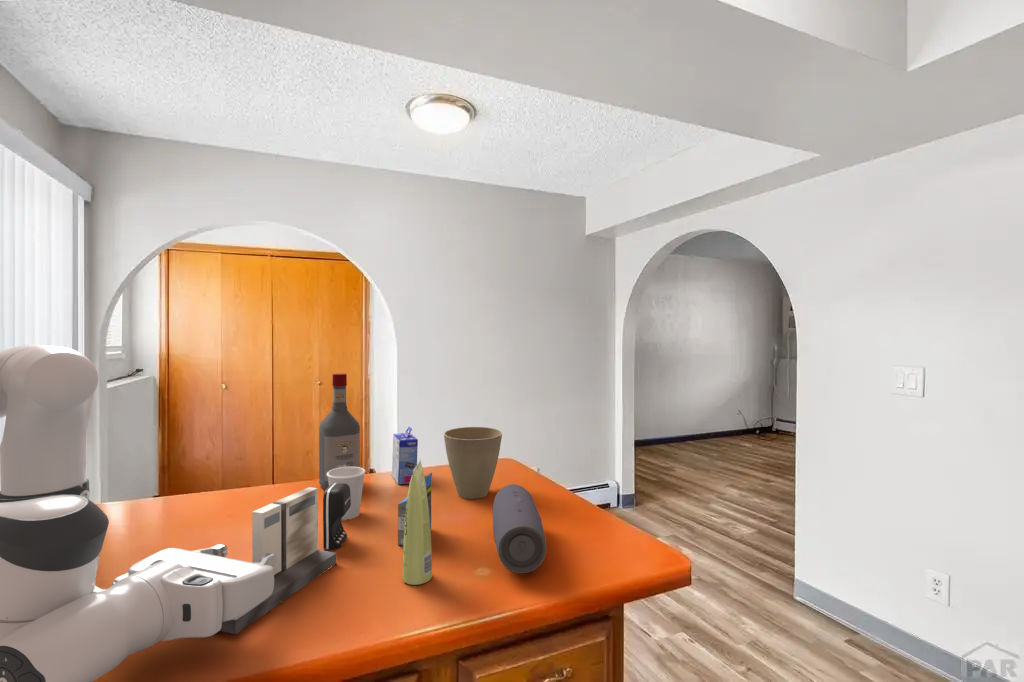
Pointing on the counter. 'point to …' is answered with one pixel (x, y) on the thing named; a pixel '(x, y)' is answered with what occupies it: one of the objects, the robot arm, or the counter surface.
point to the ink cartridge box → (404, 456)
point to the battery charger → (335, 514)
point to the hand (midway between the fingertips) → (247, 553)
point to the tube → (417, 532)
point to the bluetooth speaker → (518, 530)
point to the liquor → (338, 434)
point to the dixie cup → (355, 482)
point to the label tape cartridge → (403, 510)
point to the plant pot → (472, 458)
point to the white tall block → (267, 533)
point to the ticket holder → (292, 555)
